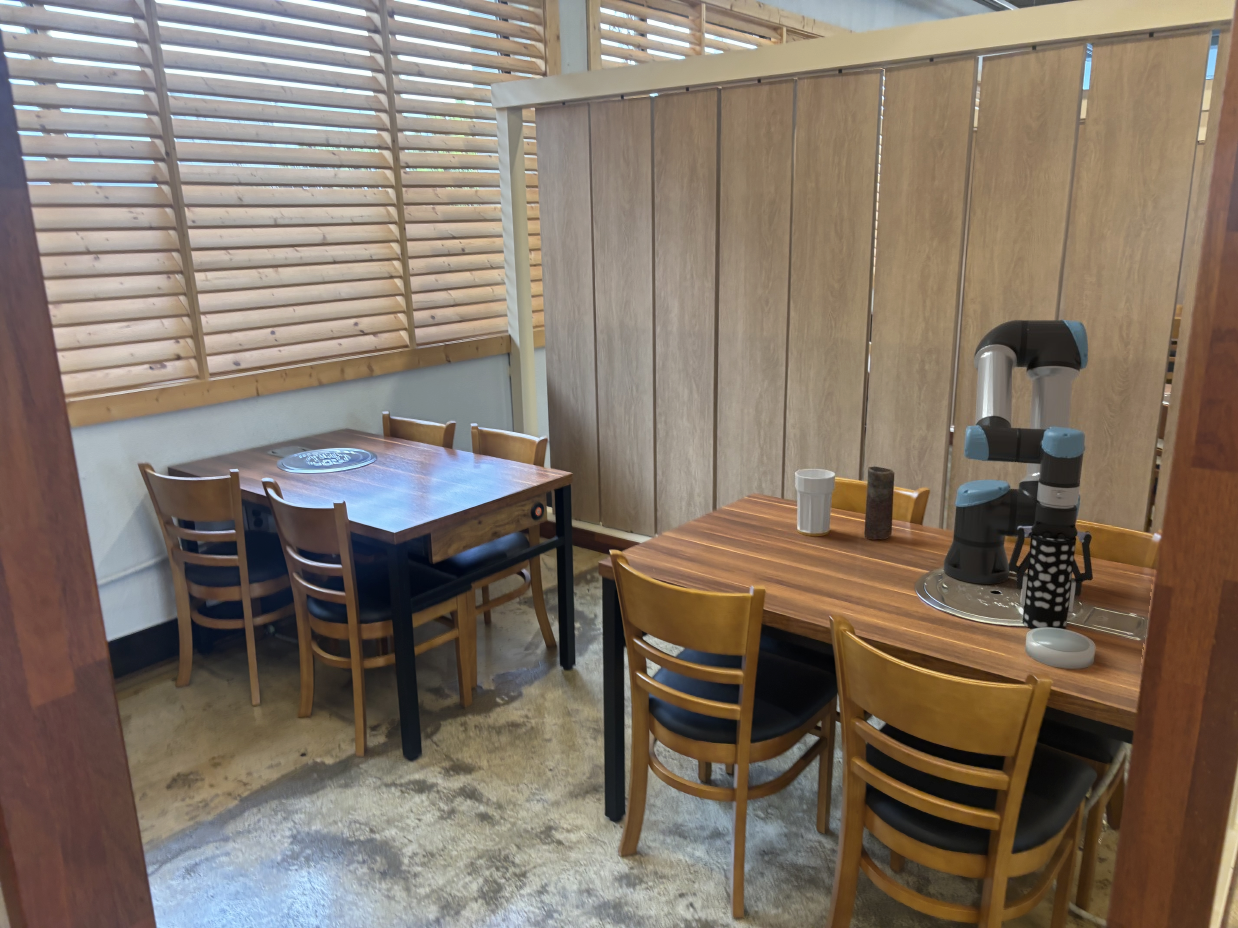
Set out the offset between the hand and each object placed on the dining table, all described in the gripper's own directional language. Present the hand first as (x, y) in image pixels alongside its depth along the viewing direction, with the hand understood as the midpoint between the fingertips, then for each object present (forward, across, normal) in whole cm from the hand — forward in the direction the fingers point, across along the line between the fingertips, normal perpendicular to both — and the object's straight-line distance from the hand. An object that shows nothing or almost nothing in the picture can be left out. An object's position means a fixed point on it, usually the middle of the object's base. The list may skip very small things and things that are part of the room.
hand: (1046, 605), depth 175 cm
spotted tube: (+5, 0, 0) cm, 5 cm away
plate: (+4, +2, -14) cm, 15 cm away
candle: (+5, -40, +47) cm, 62 cm away
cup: (+5, -58, +46) cm, 74 cm away
